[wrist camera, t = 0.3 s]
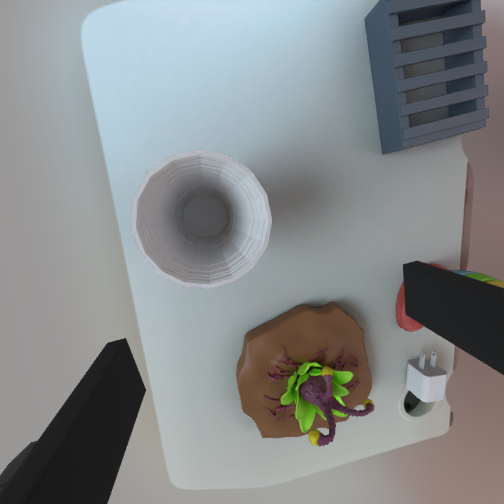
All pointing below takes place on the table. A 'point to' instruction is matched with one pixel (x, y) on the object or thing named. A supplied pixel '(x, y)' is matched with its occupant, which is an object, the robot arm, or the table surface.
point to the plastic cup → (201, 219)
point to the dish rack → (456, 74)
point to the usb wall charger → (426, 379)
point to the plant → (304, 373)
